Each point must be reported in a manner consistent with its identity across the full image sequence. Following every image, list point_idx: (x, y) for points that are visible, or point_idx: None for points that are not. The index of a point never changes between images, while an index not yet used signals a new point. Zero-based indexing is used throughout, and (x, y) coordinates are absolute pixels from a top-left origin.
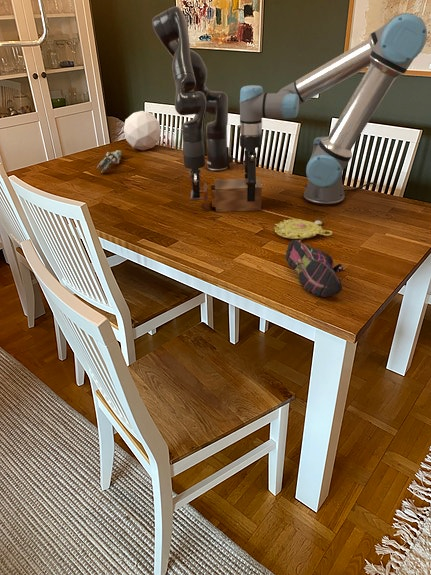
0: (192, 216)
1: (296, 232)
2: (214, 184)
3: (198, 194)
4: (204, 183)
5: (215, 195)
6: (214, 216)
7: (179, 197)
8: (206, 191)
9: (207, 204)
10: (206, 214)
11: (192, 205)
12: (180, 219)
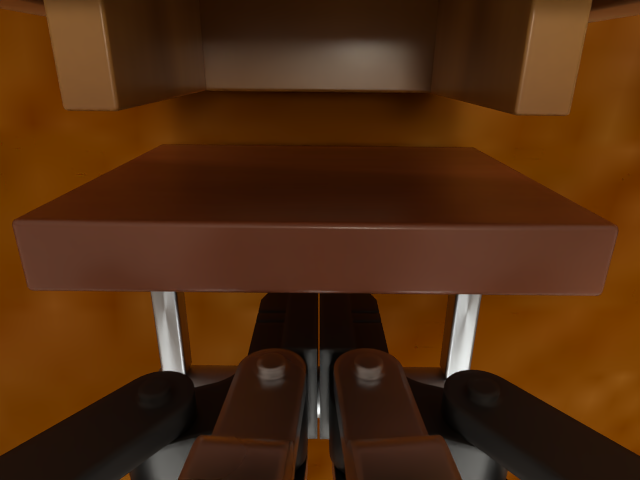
0: (550, 303)
1: None
2: (59, 6)
3: (382, 331)
4: (57, 275)
5: (617, 14)
6: (627, 63)
7: (36, 421)
8: (614, 240)
9: (499, 162)
10: (538, 160)
11: (254, 305)
12: (587, 401)
